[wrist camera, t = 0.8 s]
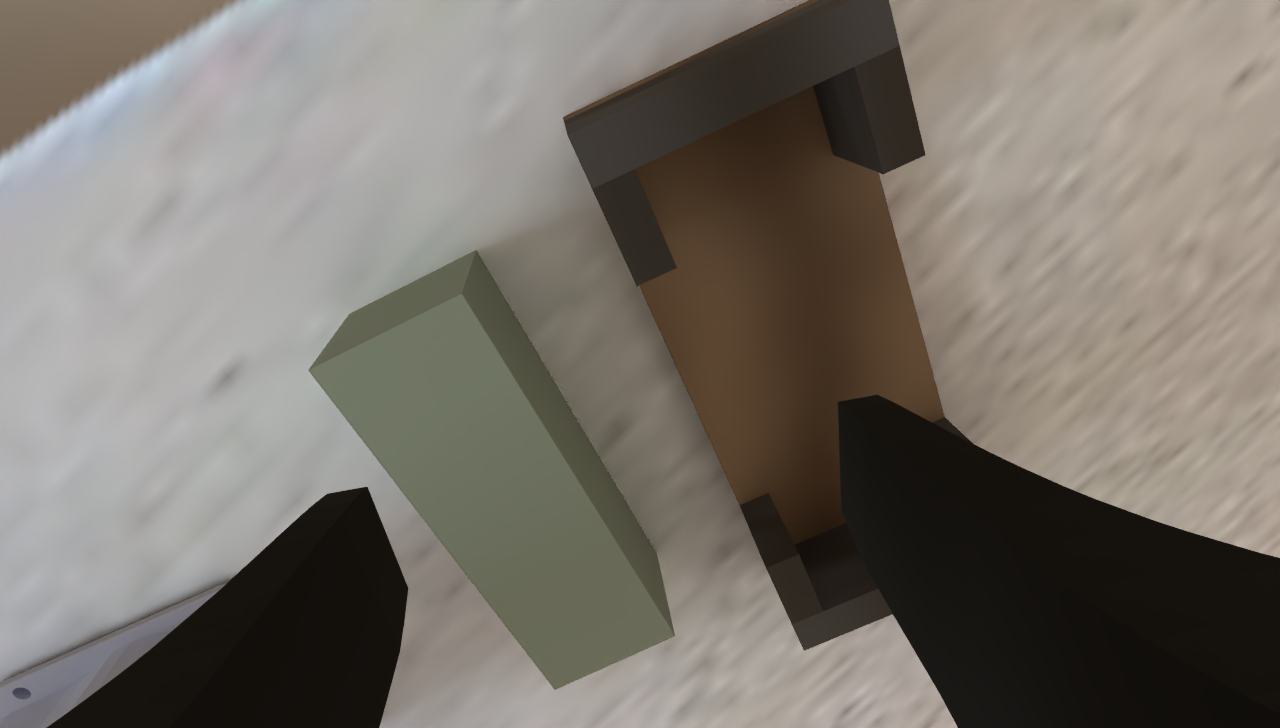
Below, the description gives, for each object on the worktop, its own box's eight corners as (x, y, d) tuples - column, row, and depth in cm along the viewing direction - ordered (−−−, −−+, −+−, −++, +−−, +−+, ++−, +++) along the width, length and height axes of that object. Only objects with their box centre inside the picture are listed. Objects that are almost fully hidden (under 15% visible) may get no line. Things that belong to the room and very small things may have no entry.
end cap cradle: (766, 563, 25) (804, 650, 21) (562, 117, 18) (567, 135, 15) (951, 484, 25) (1021, 560, 21) (815, -3, 18) (884, -15, 14)
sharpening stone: (553, 595, 25) (554, 689, 21) (351, 311, 20) (308, 370, 16) (655, 549, 25) (674, 636, 21) (476, 247, 20) (461, 293, 16)
